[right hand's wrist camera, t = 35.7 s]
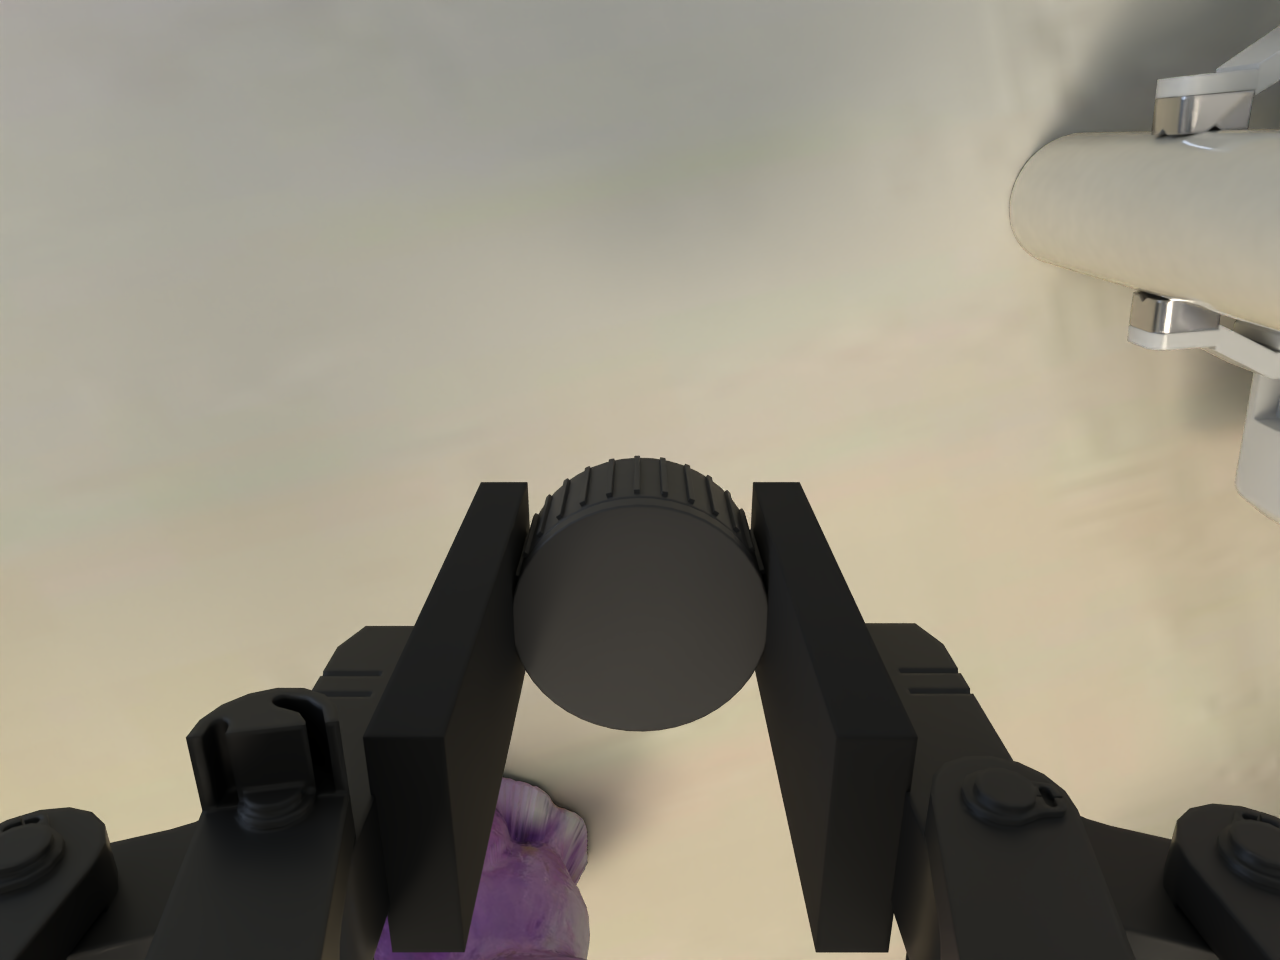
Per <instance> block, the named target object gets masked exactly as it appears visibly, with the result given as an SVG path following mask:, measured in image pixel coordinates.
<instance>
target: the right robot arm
mask: <svg viewBox="0 0 1280 960" xmlns="http://www.w3.org/2000/svg"><path fill="white" fill-rule="evenodd" d="M751 529H753V532H754V535H755V539H756V542H757V546H758V549H759V553H760V556H761V559H762V563H763V566H764V570H765V574H763V575H762V577H763V581H764V584H765V588H766V592H767V597H768V612H767V629H766V644H765V650H764V652H763V655H762V657H761V659H760V662H759V664H758V666H757V667H756V669H755V672H756V677H757V682H758V686H759V691H760V696H761V700H762V705H763V709H764V714H765V719H766V723H767V728H768V733H769V737H770V742H771V747H772V751H773V756H774V760H775V765H776V770H777V774H778V779H779V784H780V788H781V793H782V798H783V802H784V807H785V811H786V816H787V821H788V825H789V830H790V835H791V839H792V844H793V848H794V853H795V858H796V862H797V867H798V872H799V876H800V881H801V886H802V890H803V895H804V899H805V904H806V909H807V913H808V918H809V923H810V927H811V932H812V937H813V941H814V946H815V950H816V952H888V951H889V943H890V936H891V929H892V922H893V914H894V915H895V918H896V921H897V924H898V927H899V930H900V933H901V936H902V939H903V942H904V945H905V948H906V951H907V953H906V960H1280V819H1279V818H1277V817H1275V816H1272V815H1269V814H1266V813H1263V812H1259V811H1256V810H1252V809H1249V808H1246V807H1242V806H1232V805H1222V804H1208V805H1204V806H1199V807H1194V808H1190V809H1189V810H1188V811H1187V812H1185V813H1184V814H1183V815H1182V816H1181V817H1180V818H1179V819H1178V820H1177V823H1176V826H1175V830H1174V833H1173V837H1172V840H1171V839H1167V838H1162V837H1158V836H1153V835H1149V834H1144V833H1140V832H1135V831H1131V830H1127V829H1122V828H1118V827H1113V826H1109V825H1106V824H1102V823H1099V822H1096V821H1092V820H1089V819H1086V818H1084V817H1081V816H1080V814H1079V812H1078V809H1077V808H1076V806H1075V805H1074V803H1073V802H1072V800H1071V799H1070V797H1069V796H1068V795H1067V793H1066V792H1065V790H1063V789H1062V788H1061V787H1060V786H1058V785H1057V784H1056V783H1054V782H1053V781H1052V780H1051V779H1049V778H1048V777H1047V776H1046V775H1044V774H1042V773H1040V772H1038V771H1036V770H1034V769H1032V768H1029V767H1027V766H1025V765H1023V764H1021V763H1019V762H1015V761H1013V759H1012V758H1011V756H1010V754H1009V753H1008V751H1007V749H1006V748H1005V746H1004V744H1003V743H1002V741H1001V739H1000V738H999V736H998V734H997V733H996V731H995V729H994V728H993V726H992V724H991V723H990V721H989V719H988V718H987V716H986V714H985V713H984V711H983V709H982V708H981V706H980V704H979V703H978V701H977V699H976V698H975V696H974V694H970V688H969V686H968V685H967V683H966V681H965V680H964V678H963V676H962V675H961V673H958V668H957V666H956V665H955V663H954V661H953V660H952V658H951V656H950V655H949V653H948V651H947V650H946V648H945V646H944V645H943V644H942V643H941V642H940V641H938V640H937V639H936V638H934V637H933V636H932V635H930V634H929V633H927V632H926V631H925V630H923V629H922V628H921V627H919V626H918V625H917V624H915V623H865V622H864V620H863V618H862V616H861V613H860V611H859V609H858V607H857V605H856V603H855V600H854V598H853V596H852V594H851V592H850V590H849V588H848V585H847V583H846V581H845V579H844V577H843V575H842V573H841V570H840V568H839V566H838V564H837V562H836V560H835V557H834V555H833V553H832V551H831V549H830V547H829V545H828V542H827V540H826V538H825V536H824V534H823V532H822V530H821V527H820V525H819V523H818V521H817V519H816V517H815V514H814V512H813V510H812V508H811V506H810V504H809V502H808V499H807V497H806V495H805V493H804V491H803V489H802V486H801V484H800V482H753V496H752V516H751ZM529 530H530V524H529V504H528V484H527V482H481V483H480V486H479V488H478V490H477V492H476V494H475V496H474V499H473V501H472V503H471V505H470V507H469V509H468V511H467V514H466V516H465V518H464V520H463V522H462V524H461V527H460V529H459V531H458V533H457V535H456V537H455V539H454V542H453V544H452V546H451V548H450V550H449V552H448V554H447V557H446V559H445V561H444V563H443V565H442V567H441V570H440V572H439V574H438V576H437V578H436V580H435V582H434V585H433V587H432V589H431V591H430V593H429V595H428V598H427V600H426V602H425V604H424V606H423V608H422V610H421V613H420V615H419V617H418V619H417V621H416V623H415V626H365V627H364V628H363V629H361V630H360V631H359V632H357V633H356V634H355V635H353V636H352V637H350V638H349V639H348V640H346V641H345V642H344V643H342V644H341V645H340V646H338V647H337V649H336V651H335V652H334V654H333V656H332V657H331V659H330V661H329V662H328V664H327V666H326V668H325V669H324V671H323V676H320V678H319V679H318V681H317V683H316V684H315V686H314V688H313V689H312V690H308V689H305V688H275V689H270V690H265V691H260V692H255V693H250V694H247V695H245V696H242V697H240V698H237V699H235V700H232V701H230V702H228V703H225V704H223V705H221V706H219V707H218V708H217V709H215V710H214V711H212V712H211V713H209V714H208V715H206V716H205V717H203V718H202V719H201V720H199V722H198V723H197V724H196V725H195V727H194V728H193V729H192V731H191V732H190V733H189V734H188V736H187V737H186V740H187V745H188V749H189V753H190V758H191V762H192V767H193V771H194V776H195V780H196V784H197V789H198V793H199V798H200V802H201V807H202V813H201V816H200V818H199V821H196V822H194V823H191V824H187V825H184V826H181V827H177V828H174V829H170V830H166V831H161V832H157V833H153V834H148V835H144V836H139V837H135V838H130V839H126V840H122V841H117V842H113V843H110V842H109V838H108V834H107V831H106V827H105V824H104V823H103V822H102V821H101V820H100V819H99V818H98V817H97V816H96V815H94V814H93V813H92V812H89V811H84V810H80V809H75V808H70V807H67V808H57V809H46V810H38V811H35V812H32V813H29V814H25V815H22V816H18V817H16V818H12V819H9V820H6V821H4V822H2V823H0V960H374V955H375V952H376V949H377V946H378V942H379V939H380V936H381V933H382V930H383V927H384V924H385V921H386V918H387V917H388V925H389V932H390V939H391V946H392V952H465V949H466V944H467V939H468V935H469V930H470V925H471V921H472V916H473V911H474V907H475V902H476V898H477V893H478V888H479V884H480V879H481V874H482V870H483V865H484V860H485V856H486V851H487V847H488V842H489V837H490V833H491V828H492V823H493V819H494V814H495V809H496V805H497V800H498V796H499V791H500V786H501V782H502V777H503V772H504V768H505V763H506V758H507V754H508V749H509V745H510V740H511V735H512V731H513V726H514V721H515V717H516V712H517V707H518V703H519V698H520V694H521V689H522V684H523V680H524V675H525V669H524V666H523V664H522V662H521V660H520V658H519V656H518V654H517V650H516V647H515V636H514V619H513V595H514V591H515V587H516V584H517V580H516V572H517V569H518V565H519V562H520V558H521V555H522V551H523V548H524V544H525V541H526V537H527V534H529Z"/></svg>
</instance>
